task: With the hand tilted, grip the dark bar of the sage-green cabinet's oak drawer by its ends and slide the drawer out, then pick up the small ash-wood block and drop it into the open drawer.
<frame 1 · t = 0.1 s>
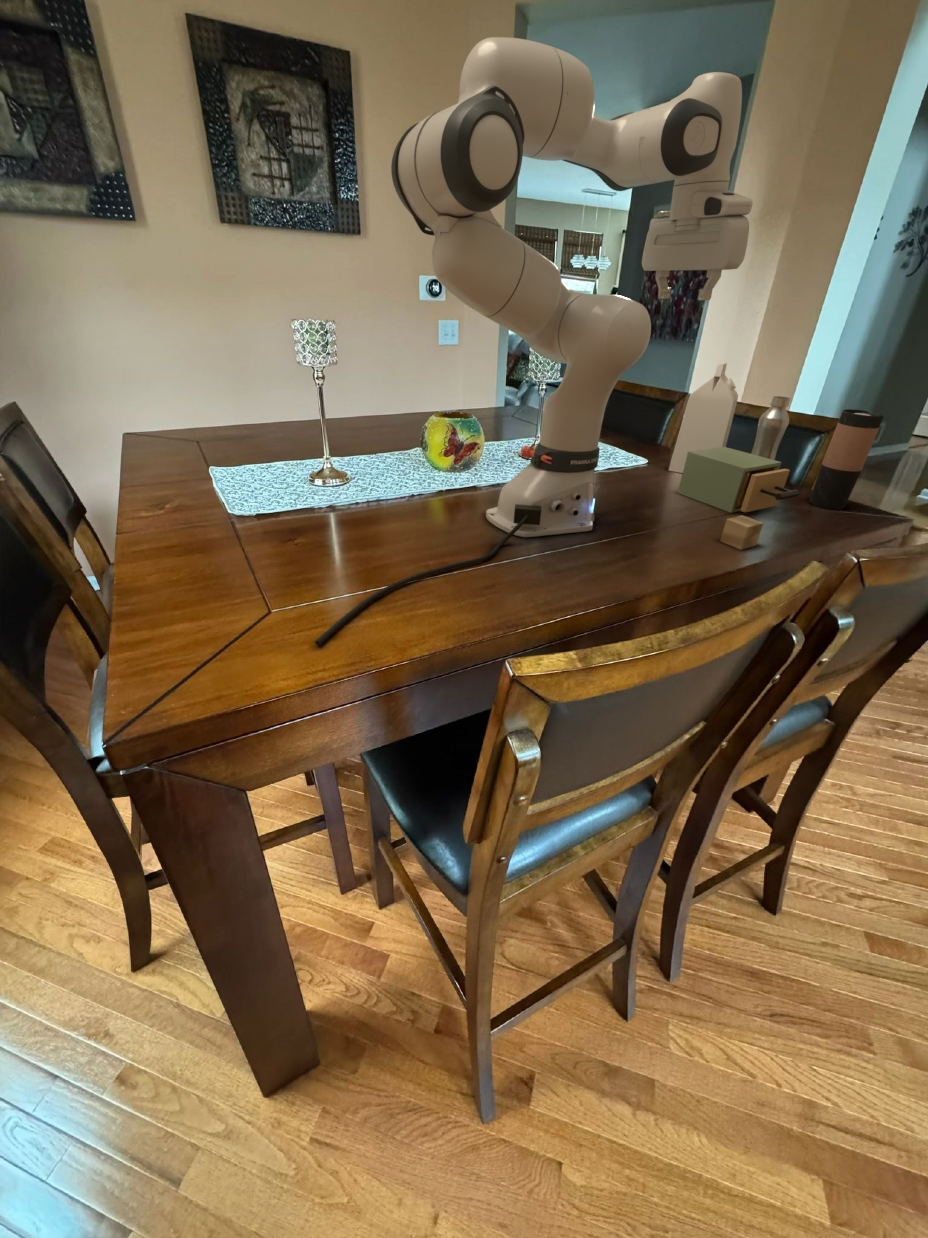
hand: (683, 299, 100), 39 cm above the table, tool pointing down, fingers open, 8 cm apart
cabinet: (721, 498, 123), on the table
drawer: (749, 485, 117), point 5 cm above the table, slide at 1.5 cm
milk: (694, 469, 145), on the table
plastic bottle: (754, 481, 137), on the table
travel mug: (825, 505, 123), on the table
block: (737, 543, 101), on the table
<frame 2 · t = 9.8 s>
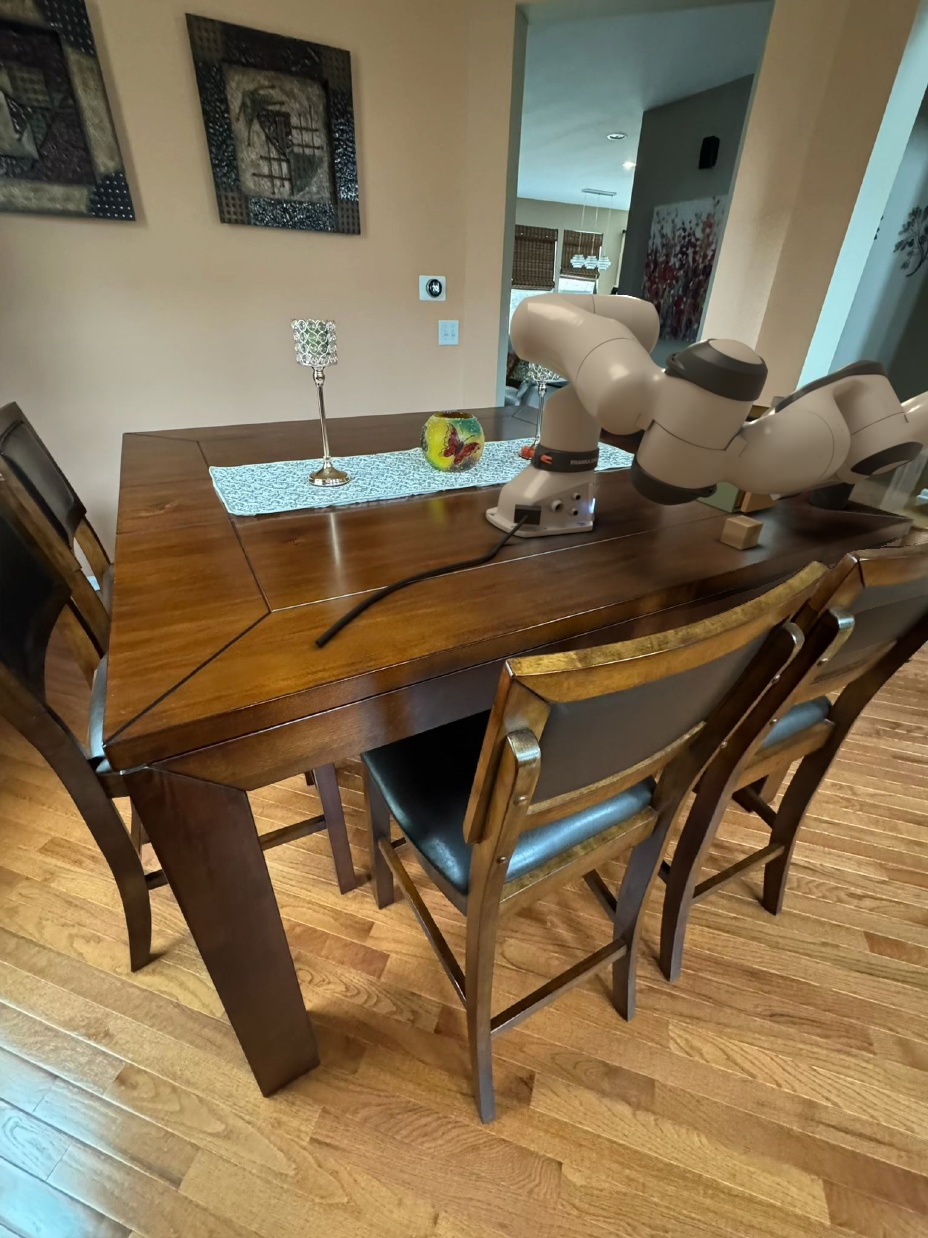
hand: (784, 494, 111), 5 cm above the table, tool tilted 45°, fingers closed on drawer, 6 cm apart
drawer: (749, 485, 117), point 5 cm above the table, slide at 1.5 cm, touching gripper
everything else where it was.
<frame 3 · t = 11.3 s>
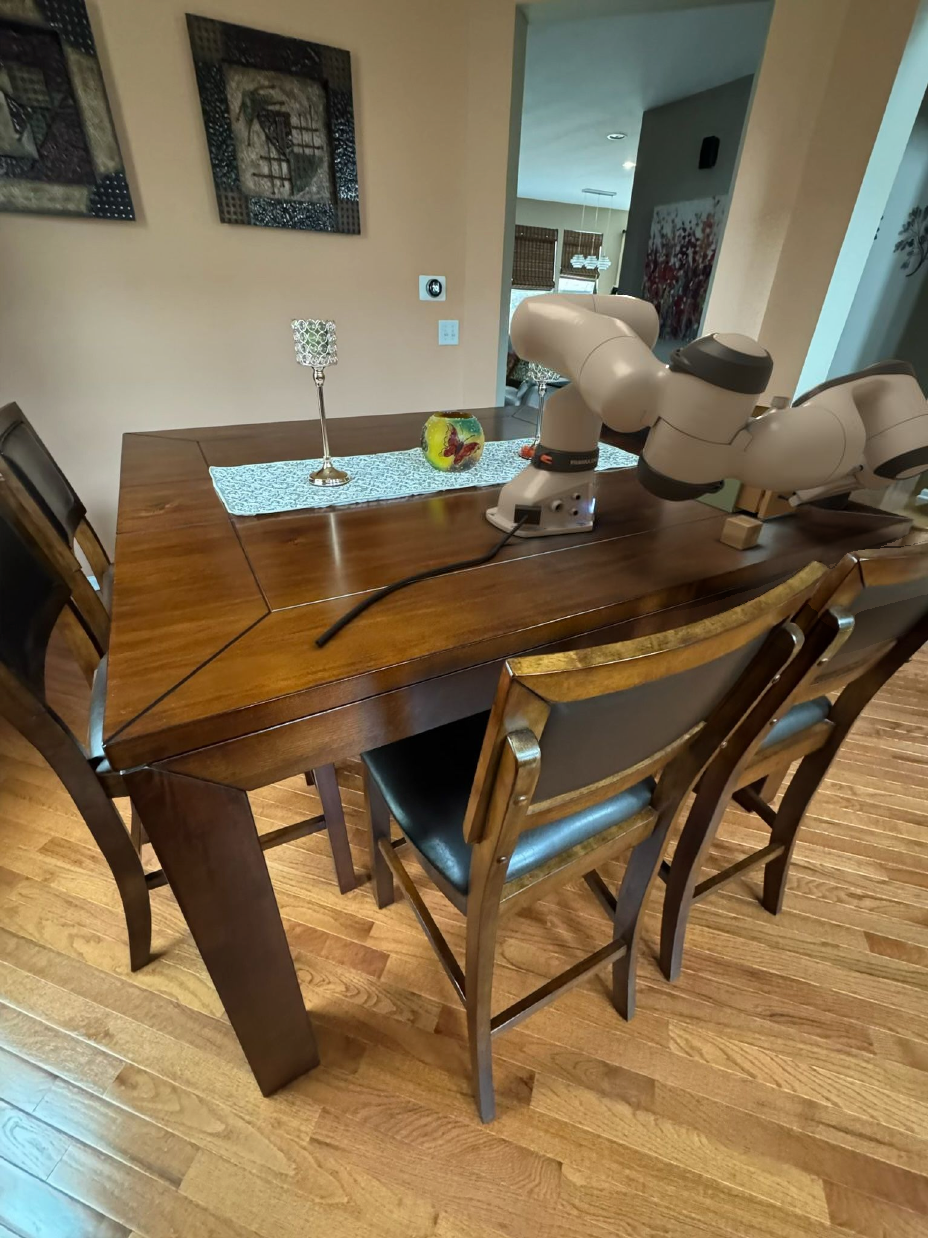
hand: (802, 500, 108), 5 cm above the table, tool tilted 45°, fingers closed on drawer, 6 cm apart
drawer: (766, 490, 114), point 5 cm above the table, slide at 5.6 cm, touching gripper
everything else where it was.
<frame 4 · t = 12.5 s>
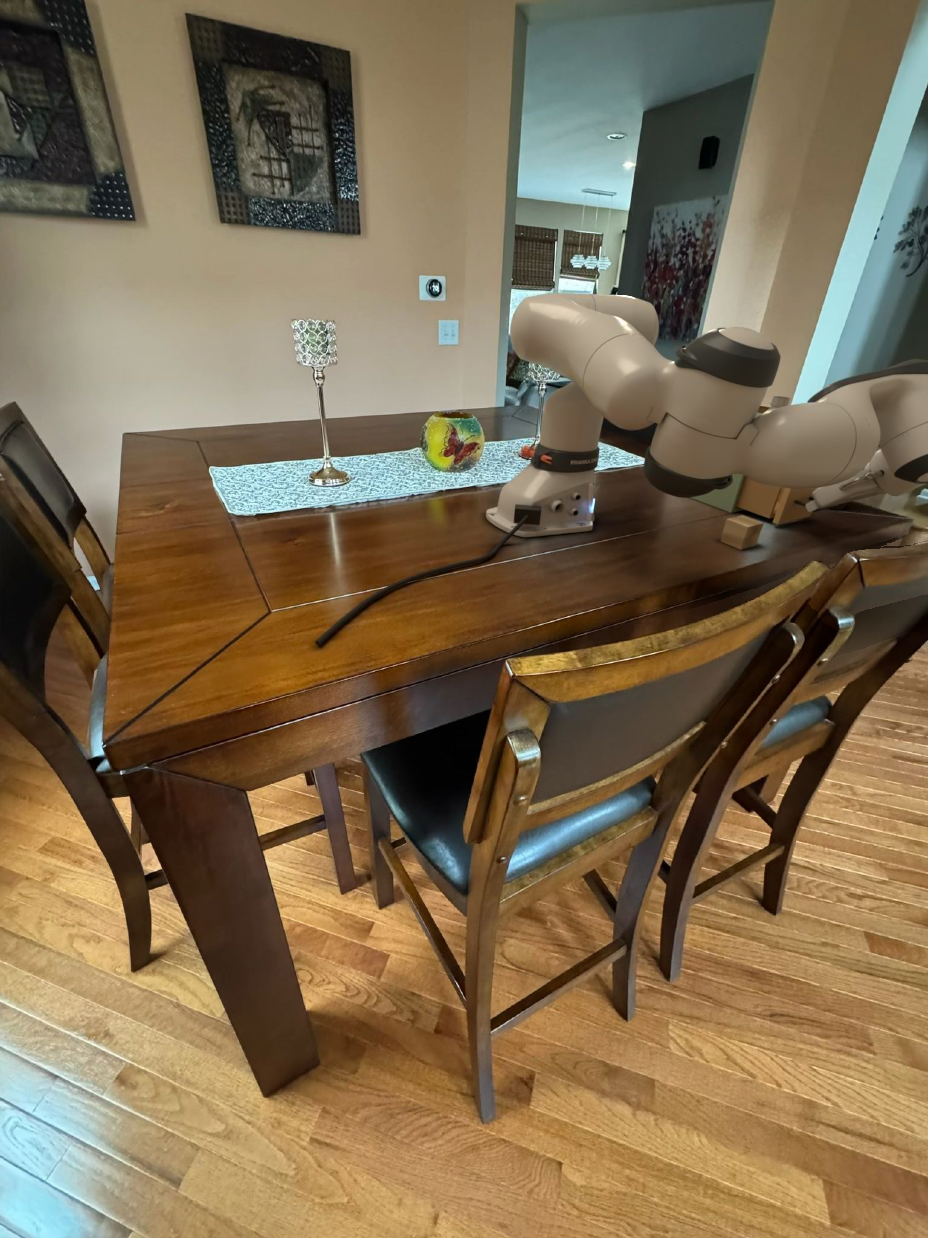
hand: (819, 505, 105), 5 cm above the table, tool tilted 45°, fingers closed on drawer, 6 cm apart
drawer: (781, 495, 111), point 5 cm above the table, slide at 9.0 cm, touching gripper
everything else where it was.
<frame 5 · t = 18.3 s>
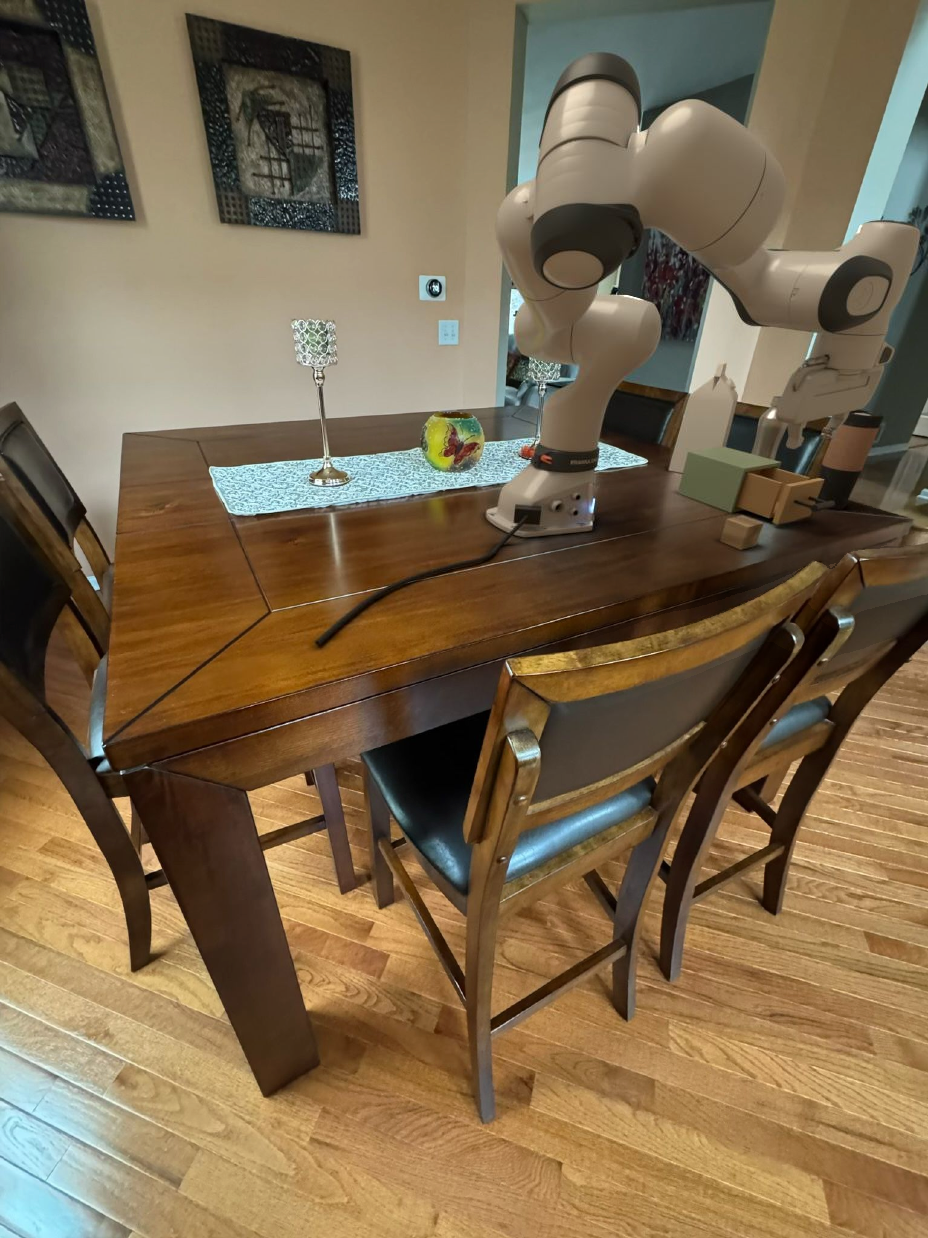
hand: (810, 443, 90), 19 cm above the table, tool pointing down, fingers open, 8 cm apart
drawer: (781, 495, 111), point 5 cm above the table, slide at 8.9 cm
everything else where it was.
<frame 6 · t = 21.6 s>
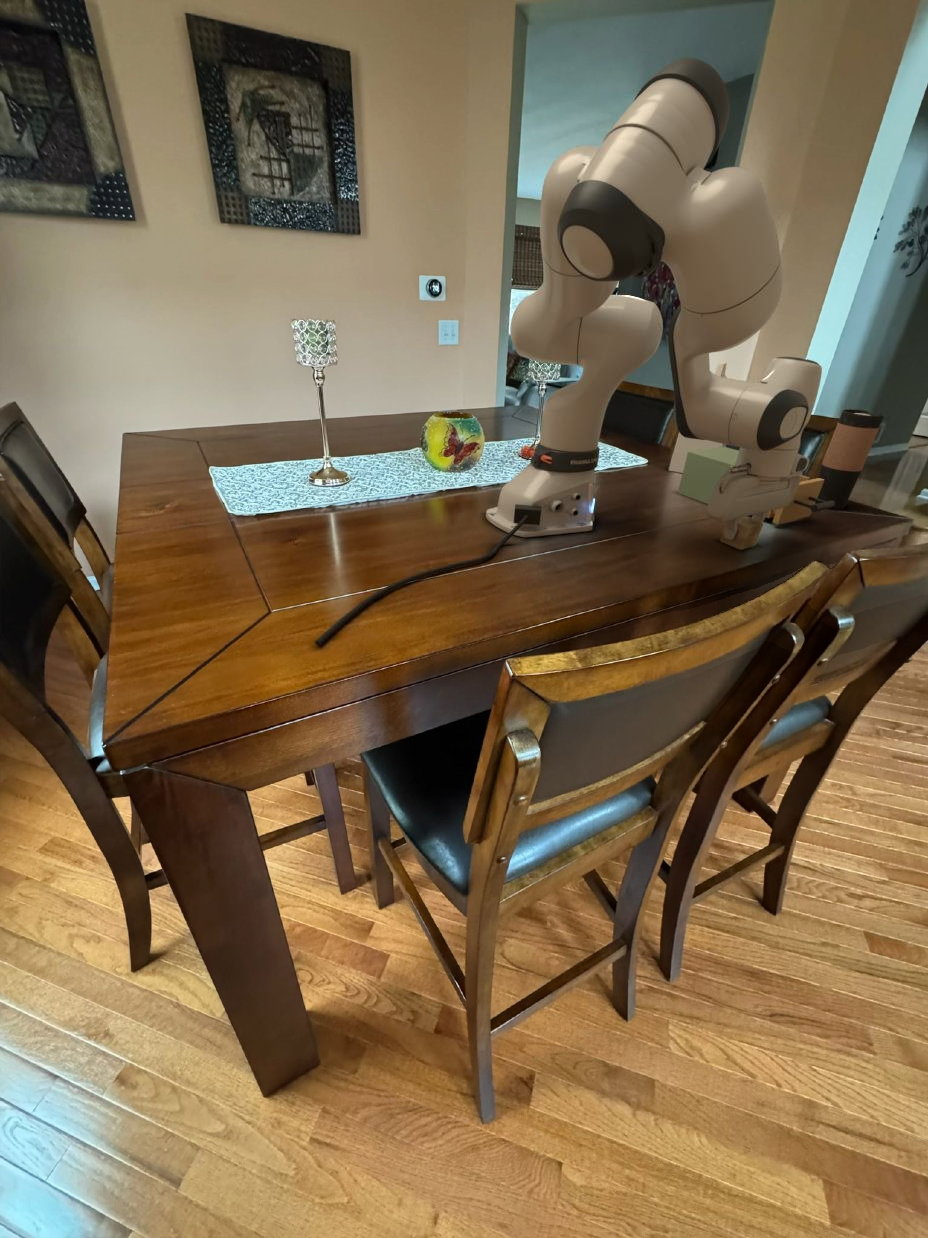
hand: (740, 535, 100), 2 cm above the table, tool pointing down, fingers closed on block, 4 cm apart
block: (737, 543, 101), on the table, touching gripper
everything else where it was.
when the fingers open (9 cm above the table, at t = 27.3 s): block drops 5 cm, resting on drawer.
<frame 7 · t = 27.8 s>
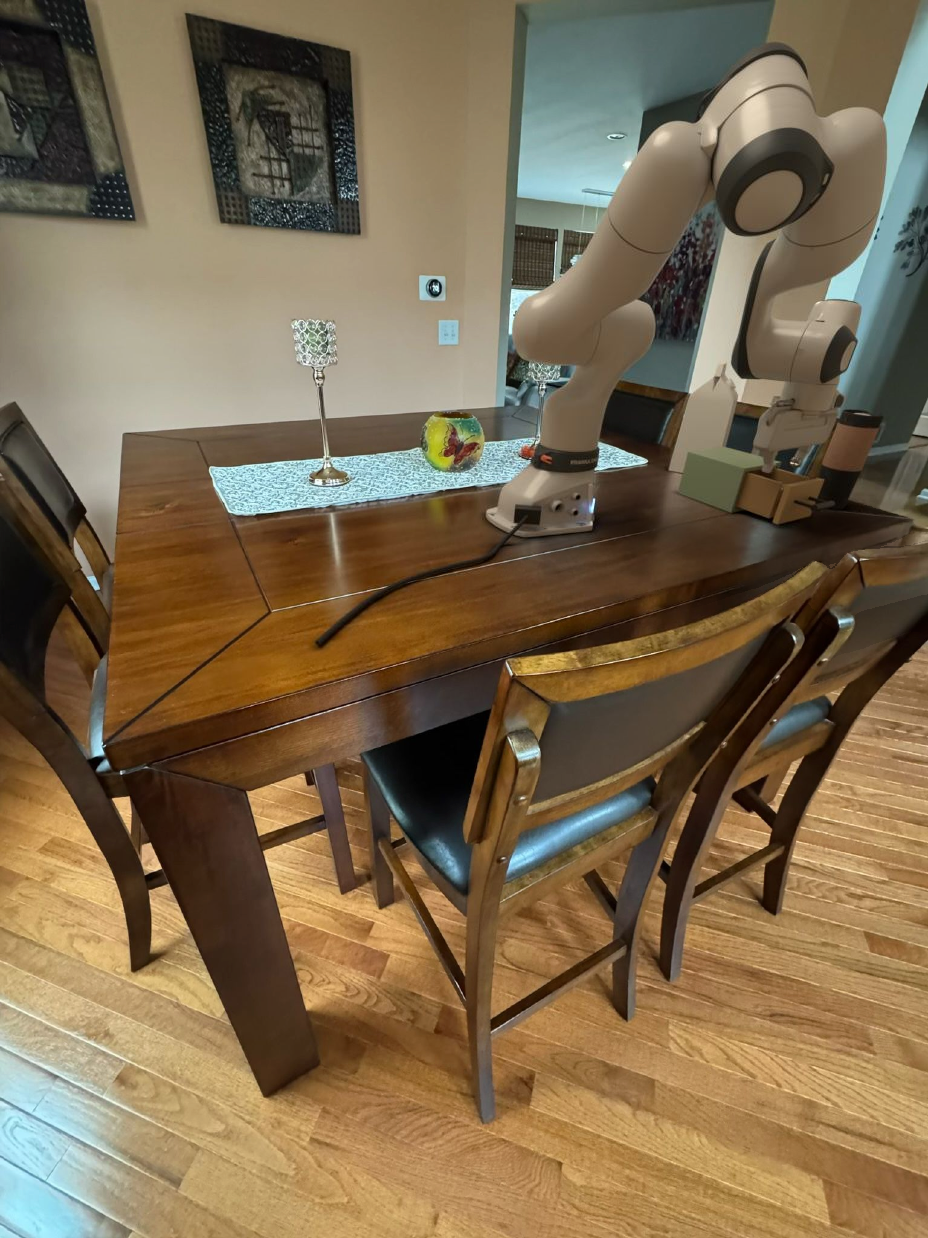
hand: (781, 469, 110), 10 cm above the table, tool pointing down, fingers open, 8 cm apart
drawer: (781, 495, 111), point 5 cm above the table, slide at 8.9 cm, touching block
block: (769, 506, 114), point 2 cm above the table, touching drawer
everything else where it was.
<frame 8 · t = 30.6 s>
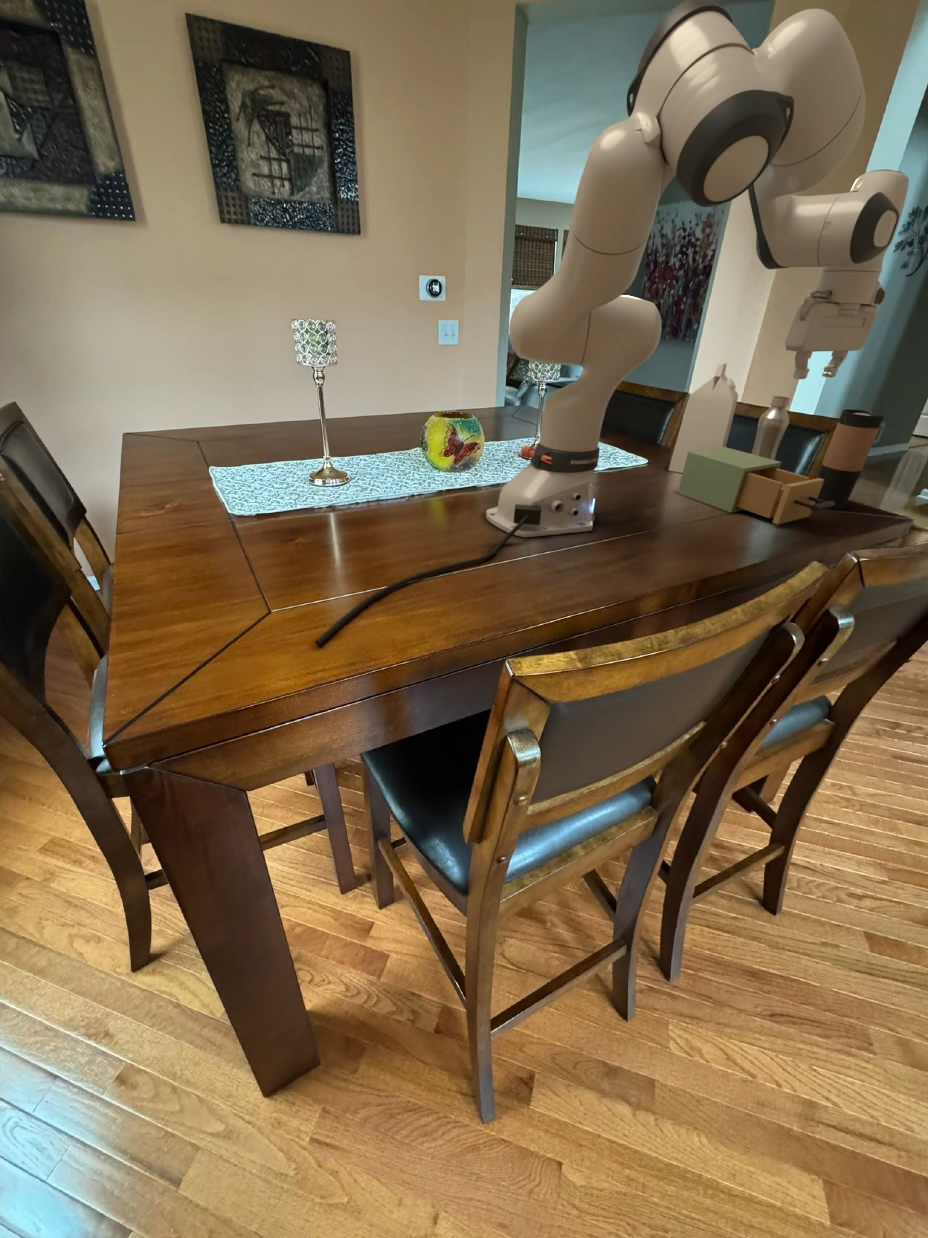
hand: (813, 377, 101), 27 cm above the table, tool pointing down, fingers open, 8 cm apart
nothing on the table moved.
at the end: drawer slide at 8.9 cm; block inside the target area in the drawer (0.1 cm from its centre), point 2.0 cm above the cabinet's base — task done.
